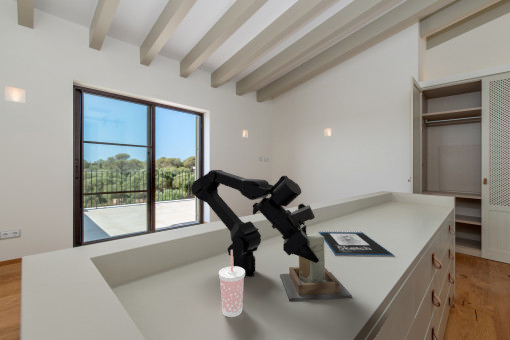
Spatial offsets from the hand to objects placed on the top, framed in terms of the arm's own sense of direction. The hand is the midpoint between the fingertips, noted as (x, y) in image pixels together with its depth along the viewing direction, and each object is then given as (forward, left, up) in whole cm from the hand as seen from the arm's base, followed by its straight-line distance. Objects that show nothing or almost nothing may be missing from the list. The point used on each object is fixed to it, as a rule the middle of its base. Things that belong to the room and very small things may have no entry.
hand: (316, 256), depth 62 cm
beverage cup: (-23, -9, -9) cm, 26 cm away
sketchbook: (+27, +34, -9) cm, 45 cm away
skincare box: (-1, 0, -7) cm, 7 cm away
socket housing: (-1, 0, -8) cm, 8 cm away
